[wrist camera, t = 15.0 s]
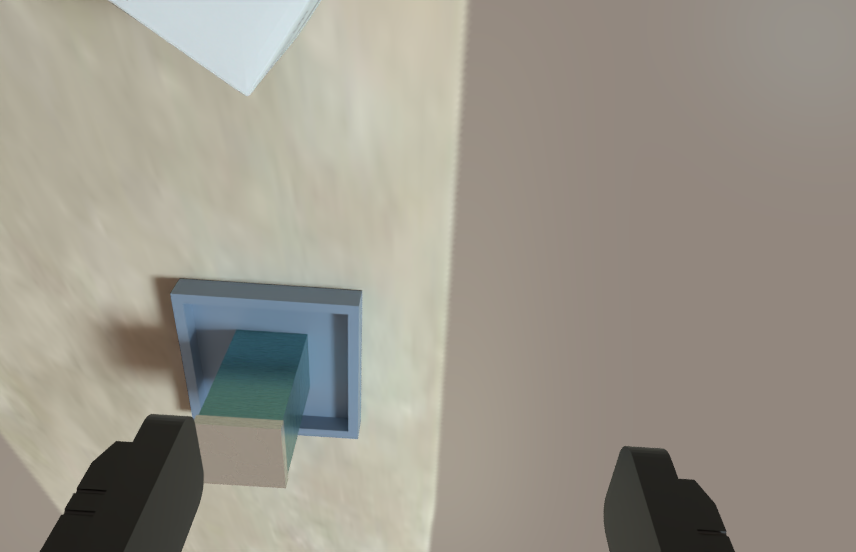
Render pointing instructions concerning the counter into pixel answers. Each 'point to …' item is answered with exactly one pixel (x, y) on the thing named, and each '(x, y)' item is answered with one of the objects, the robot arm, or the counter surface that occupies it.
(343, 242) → the counter surface
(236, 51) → the supplement box
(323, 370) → the tray
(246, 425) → the tea tin
